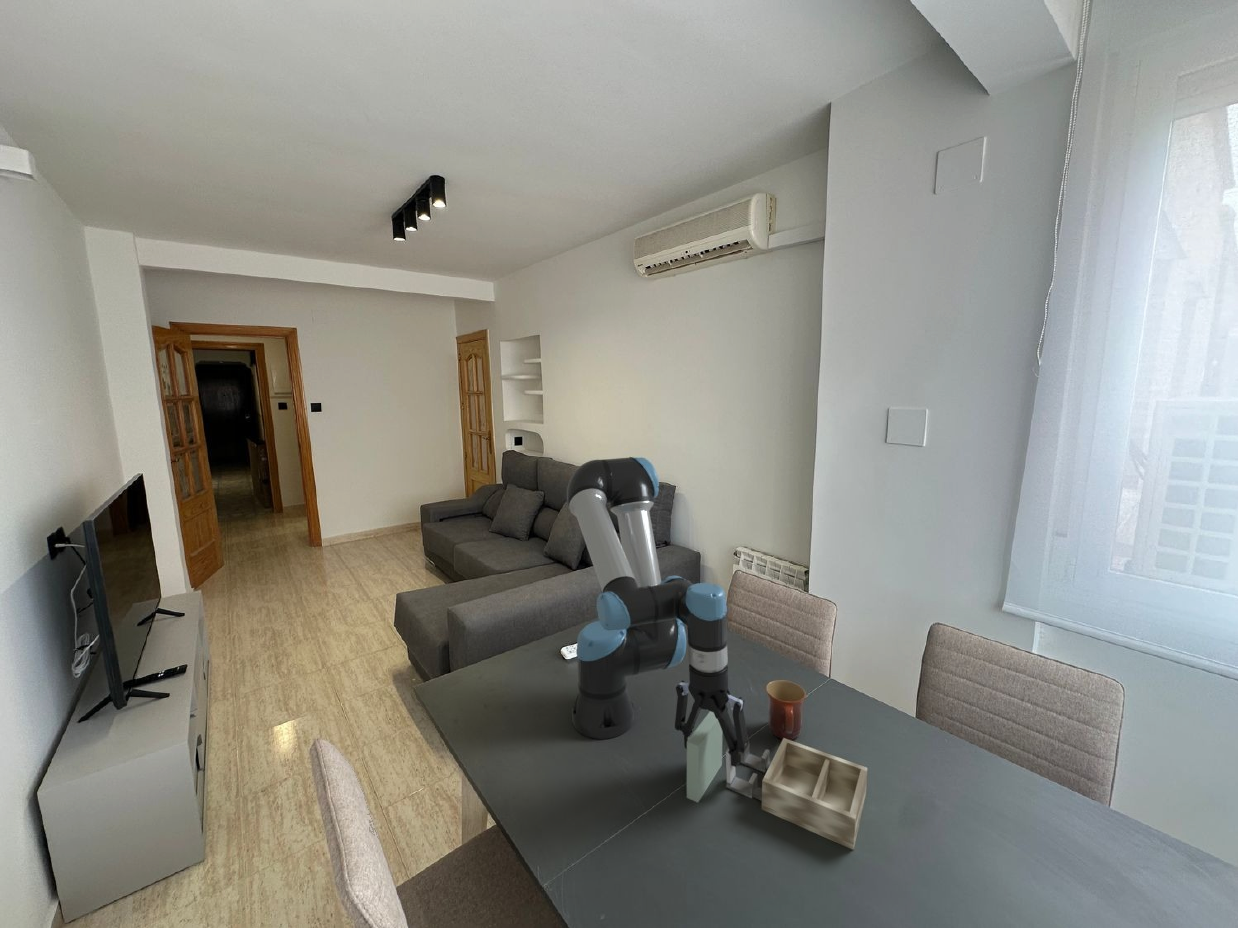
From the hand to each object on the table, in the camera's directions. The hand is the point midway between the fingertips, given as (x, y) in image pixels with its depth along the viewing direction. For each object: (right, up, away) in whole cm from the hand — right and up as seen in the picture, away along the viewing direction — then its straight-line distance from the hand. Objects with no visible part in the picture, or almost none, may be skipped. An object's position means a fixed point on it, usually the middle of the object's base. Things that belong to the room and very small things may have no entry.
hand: (711, 770), depth 102 cm
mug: (+19, -1, +14) cm, 24 cm away
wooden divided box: (+16, -3, -3) cm, 16 cm away
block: (-1, -3, +1) cm, 3 cm away
